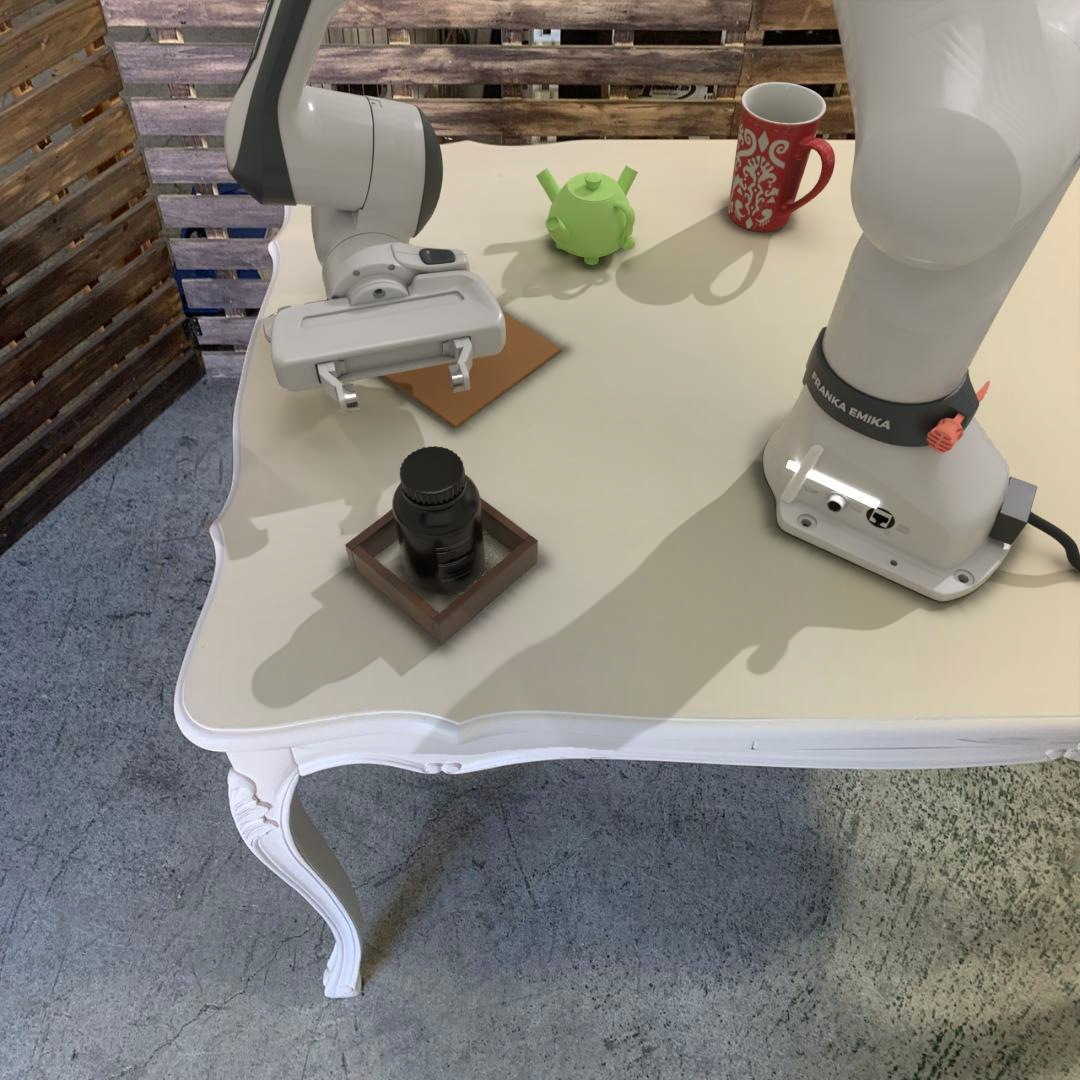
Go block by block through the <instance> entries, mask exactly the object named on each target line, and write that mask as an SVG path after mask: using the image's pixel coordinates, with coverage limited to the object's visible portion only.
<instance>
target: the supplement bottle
mask: <svg viewBox="0 0 1080 1080" xmlns="http://www.w3.org/2000/svg"><path fill="white" fill-rule="evenodd" d="M399 480H400V483H399V484H398V486H396V488H395V490H394V492H393V496H392V499H391V500H392V502H391V508H392V509H393V516H394V521H395V525H396V530H397V535H398V539H397V540H398V545H399V550H400V554H401V558H402V559H401V560H402V564H403V569H404V571H405V574H406V576H407V578H408V579H409V580H410V582H411V583H412V584H413V585H414V586H415V587H416V588H418V589H420V590H421V591H423V592H426V593H428V594H433V595H451V594H452V595H453V594H456V593H459V592H461V591H464V590H467V589H468V588H470V587H471V586H472V585H473V584H474V583H476V582H477V581H478V578H479V577H480V576H481V574H482V573H483V571H484V567H485V562H486V555H485V553H486V552H485V539H484V530H483V524H482V511H481V500H480V498H481V494H480V491H479V489H478V487H477V485H476V483H475V482H474V480H472V478H470V476H468V474H466V471H465V465H464V461H463V460H462V459H461V456H459V455H458V453H456V452H455V451H453V450H451V449H449V448H448V447H444V446H436V445H434V446H425V447H421V448H417V449H416V450H414V451H412V452H411V453H410V454H408V455H407V456H406V457H405V458H403V461H402V462H401V465H400V467H399ZM392 509H391V510H392Z"/></svg>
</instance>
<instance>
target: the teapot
mask: <svg viewBox="0 0 1080 1080" xmlns="http://www.w3.org/2000/svg"><path fill="white" fill-rule="evenodd" d="M638 173H639V172H638V171H637V170H635V169H633V168H631V167H630V166H627V165H625V166H624V168H623V170H622V172H621V174H620V176H619V177H618V180H615V179H614V178H613V177H611V176H609V175H607V174H604V173H601V172H596V171H590V172H582V173H579V174H576V175H574V176H572V177H571V178H569V179H568V181H567V182H566V183H565V184H564V185H563V186H562V188H560V186H559V184H558V183H557V181H556V179H555V177H554V176H553V175H552V173H551V171H550V169H549V168H548V167H546V168H545V169H544V170H542V171H540V172H538V173H537V174H536V175H535V177H536V179H537V180H538V182H539V184H540V185H541V187H542V189H543V190H544V192H545V194H546V195H547V197H548V199H549V201H550V202H551V205H550V208H549V211H548V216H547V218H546V220H545V223H544V225H545V228H546V229H547V232H548V234H549V237H550V238H551V239H552V240H553V242H554V243H555V247H556V248H557V249H559V250H562V251H565V252H566V253H568V254H570V255H573V256H577V257H580V258H581V257H582V258H583V262H584V263H585V264H587V265H589V266H594V265H598V264H599V262H600V258H602V257H605V256H609V255H611V254H613V253H615V252H617V251H618V250H620V249H621V248H622V250H625V251H631V250H633V248H635V245H636V241H635V239H634V237H633V236H632V235H633V231H634V224H635V222H636V213H635V210H634V208H633V207H632V205H630V201H629V199H628V198H627V196H628V193H629V191H630V189H631V187H632V185H633V183H634V181H635V180H636V178H637V175H638Z"/></svg>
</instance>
